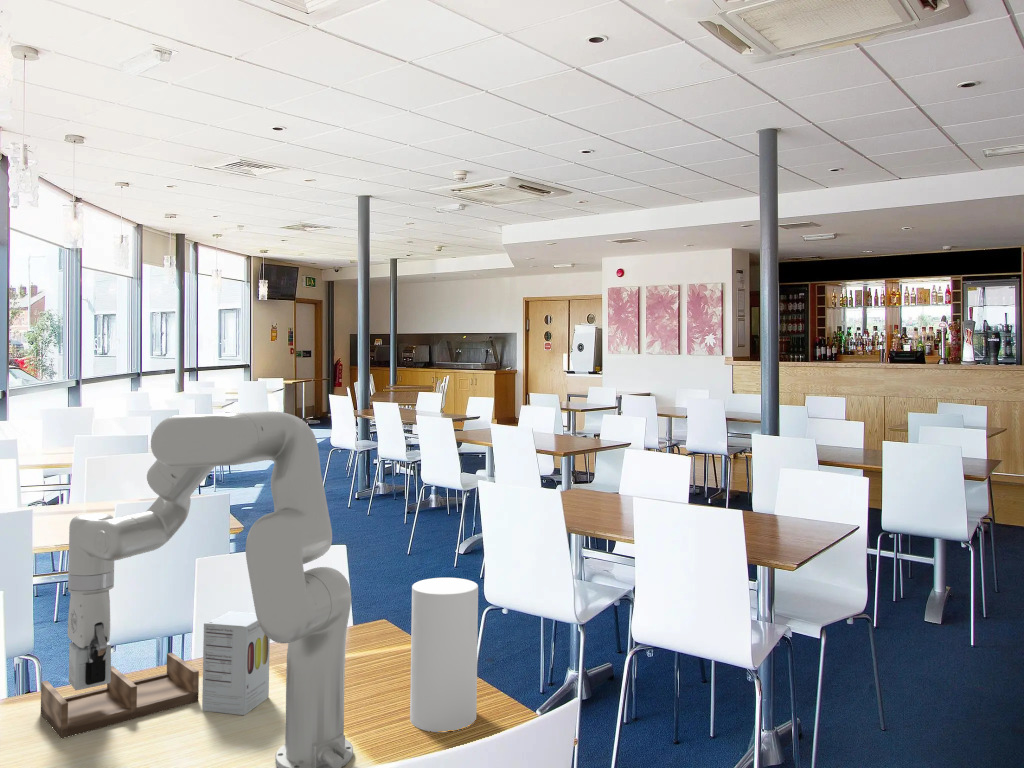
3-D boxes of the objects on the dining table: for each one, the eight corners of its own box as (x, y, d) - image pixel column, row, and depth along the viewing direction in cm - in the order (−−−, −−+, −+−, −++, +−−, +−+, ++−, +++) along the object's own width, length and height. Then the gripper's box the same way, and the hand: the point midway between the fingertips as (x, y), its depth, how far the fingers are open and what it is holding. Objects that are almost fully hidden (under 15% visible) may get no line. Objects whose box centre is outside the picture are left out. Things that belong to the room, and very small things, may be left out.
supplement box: (244, 716, 146) (245, 626, 146) (200, 711, 148) (201, 623, 148) (270, 696, 155) (271, 612, 155) (228, 692, 157) (229, 609, 157)
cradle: (198, 701, 152) (198, 670, 152) (61, 738, 135) (61, 704, 136) (171, 681, 162) (171, 652, 162) (40, 713, 146) (41, 681, 146)
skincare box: (111, 683, 144) (112, 644, 144) (74, 691, 140) (75, 650, 140) (103, 674, 149) (104, 635, 149) (67, 681, 145) (68, 642, 145)
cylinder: (489, 714, 148) (491, 583, 148) (449, 738, 138) (451, 598, 138) (438, 699, 155) (439, 574, 155) (396, 721, 144) (398, 587, 145)
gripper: (56, 575, 148) (54, 669, 148) (82, 594, 136) (80, 696, 136) (99, 569, 153) (97, 660, 153) (128, 586, 141) (126, 685, 141)
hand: (89, 676), depth 145 cm, fingers closed on skincare box, 6 cm apart
